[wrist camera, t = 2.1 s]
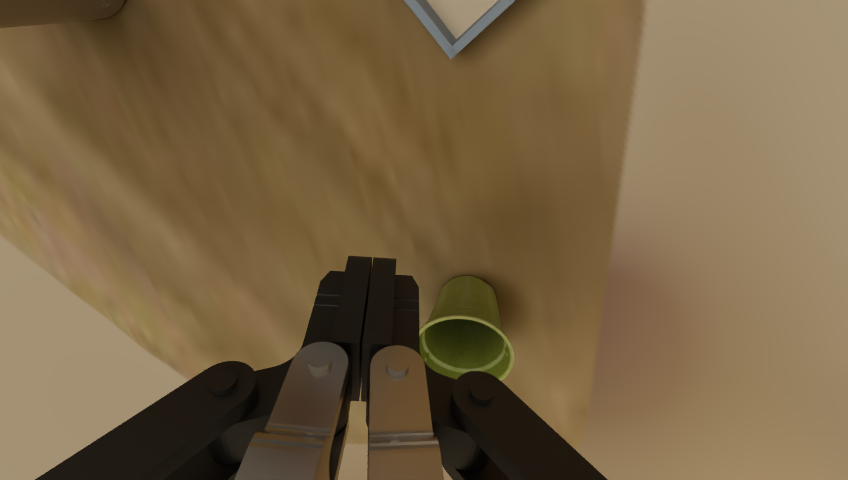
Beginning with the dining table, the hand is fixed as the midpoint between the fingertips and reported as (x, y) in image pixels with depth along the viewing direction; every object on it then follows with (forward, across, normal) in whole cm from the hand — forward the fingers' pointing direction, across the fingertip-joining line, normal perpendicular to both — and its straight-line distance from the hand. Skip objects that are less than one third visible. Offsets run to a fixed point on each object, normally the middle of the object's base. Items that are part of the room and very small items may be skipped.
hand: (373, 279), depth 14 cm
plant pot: (+24, +9, -22) cm, 34 cm away
